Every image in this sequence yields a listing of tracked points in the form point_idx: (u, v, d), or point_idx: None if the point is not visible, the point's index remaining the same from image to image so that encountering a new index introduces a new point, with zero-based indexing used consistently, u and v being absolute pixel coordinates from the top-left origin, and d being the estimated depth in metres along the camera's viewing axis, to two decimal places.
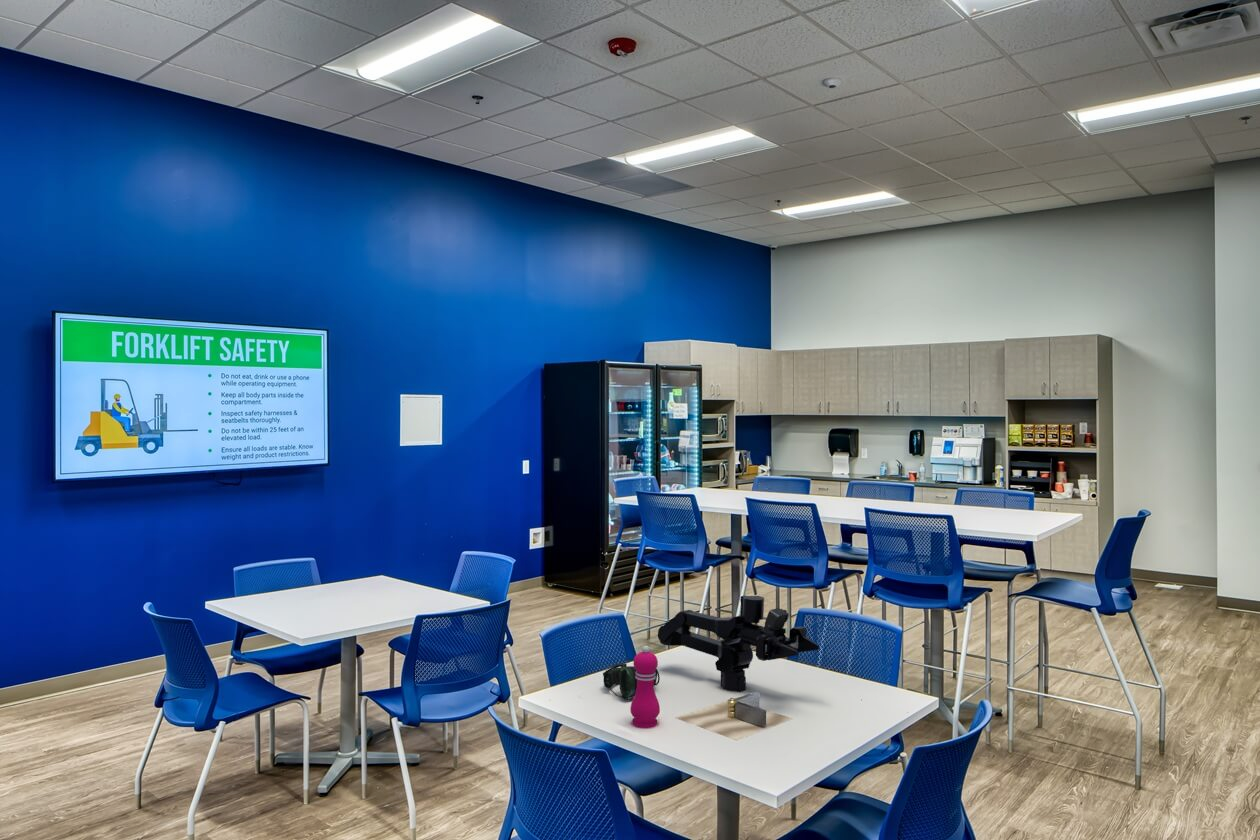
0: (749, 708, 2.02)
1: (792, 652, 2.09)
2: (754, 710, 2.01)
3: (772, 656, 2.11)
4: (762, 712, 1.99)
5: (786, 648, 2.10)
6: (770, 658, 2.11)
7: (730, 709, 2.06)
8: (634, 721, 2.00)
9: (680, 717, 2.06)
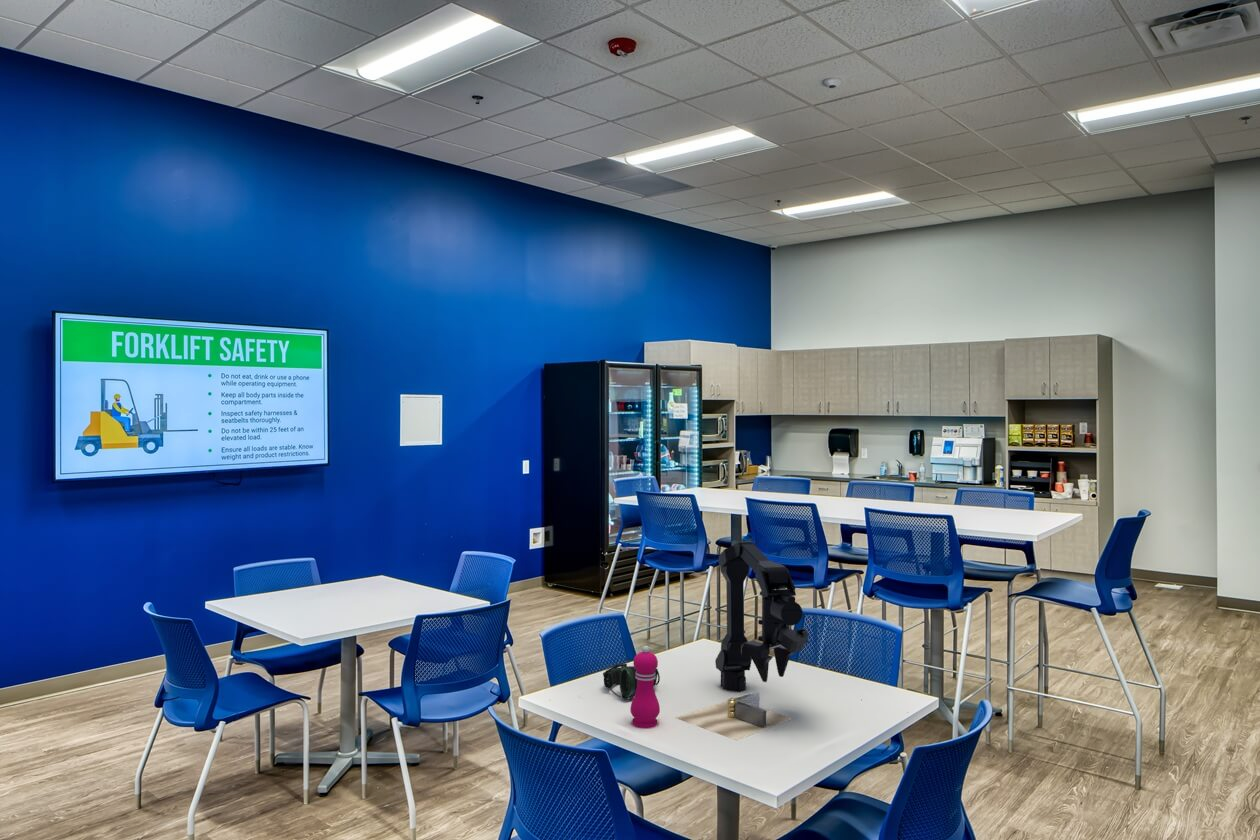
0: (749, 708, 2.02)
1: (763, 677, 2.02)
2: (754, 710, 2.01)
3: None
4: (762, 712, 1.99)
5: (765, 671, 2.02)
6: (750, 655, 2.03)
7: (730, 709, 2.06)
8: (634, 721, 2.00)
9: (680, 717, 2.06)
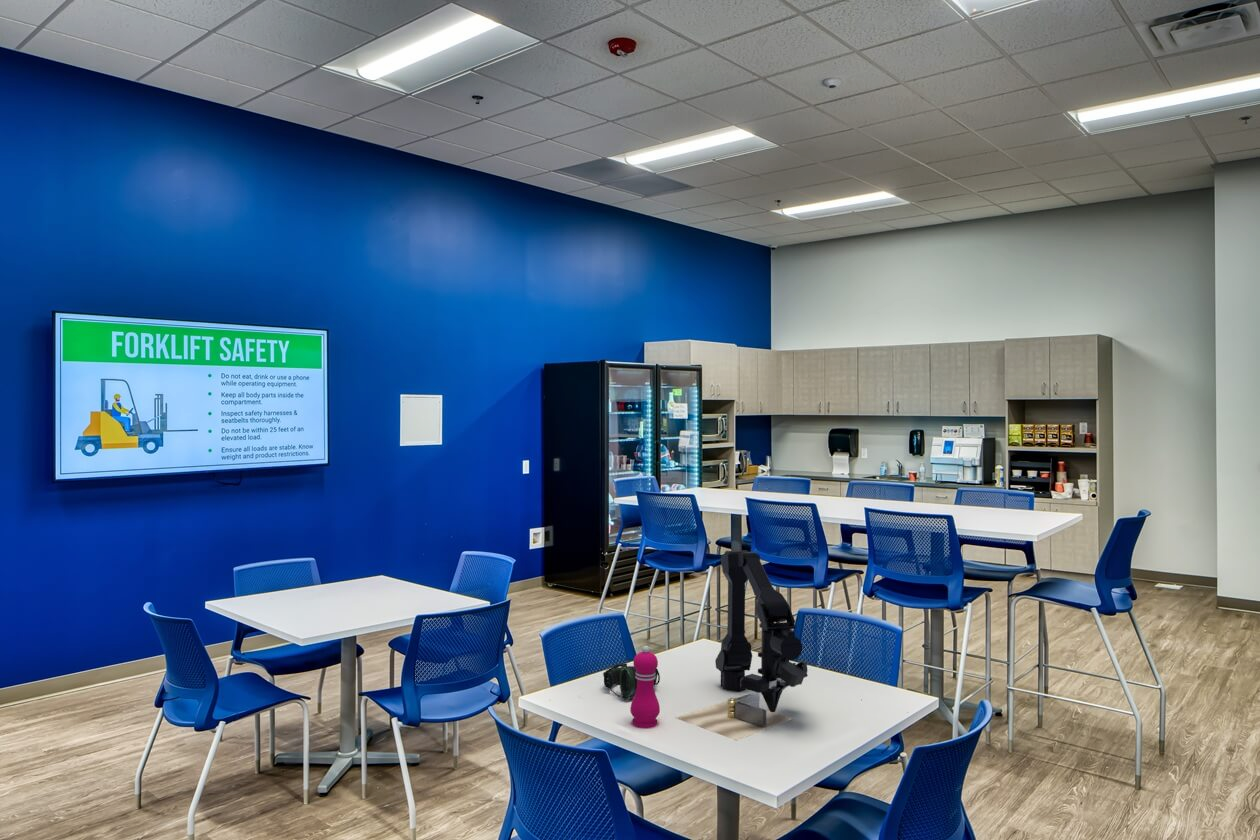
0: (749, 708, 2.02)
1: (771, 708, 2.04)
2: (754, 710, 2.01)
3: None
4: (762, 712, 1.99)
5: (772, 702, 2.04)
6: None
7: (730, 709, 2.06)
8: (634, 721, 2.00)
9: (680, 717, 2.06)
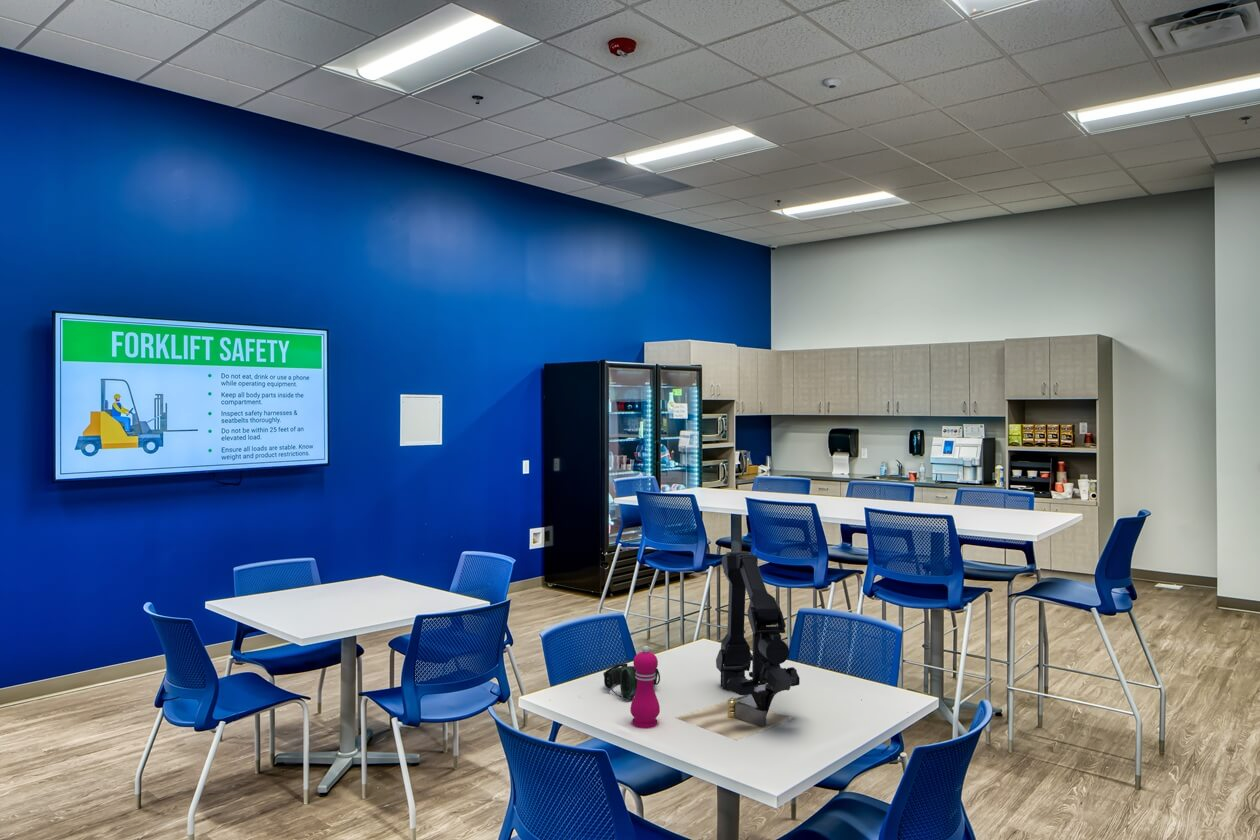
0: (749, 708, 2.02)
1: None
2: (754, 710, 2.01)
3: None
4: (762, 712, 1.99)
5: (762, 706, 2.01)
6: None
7: (730, 709, 2.06)
8: (634, 721, 2.00)
9: (680, 717, 2.06)
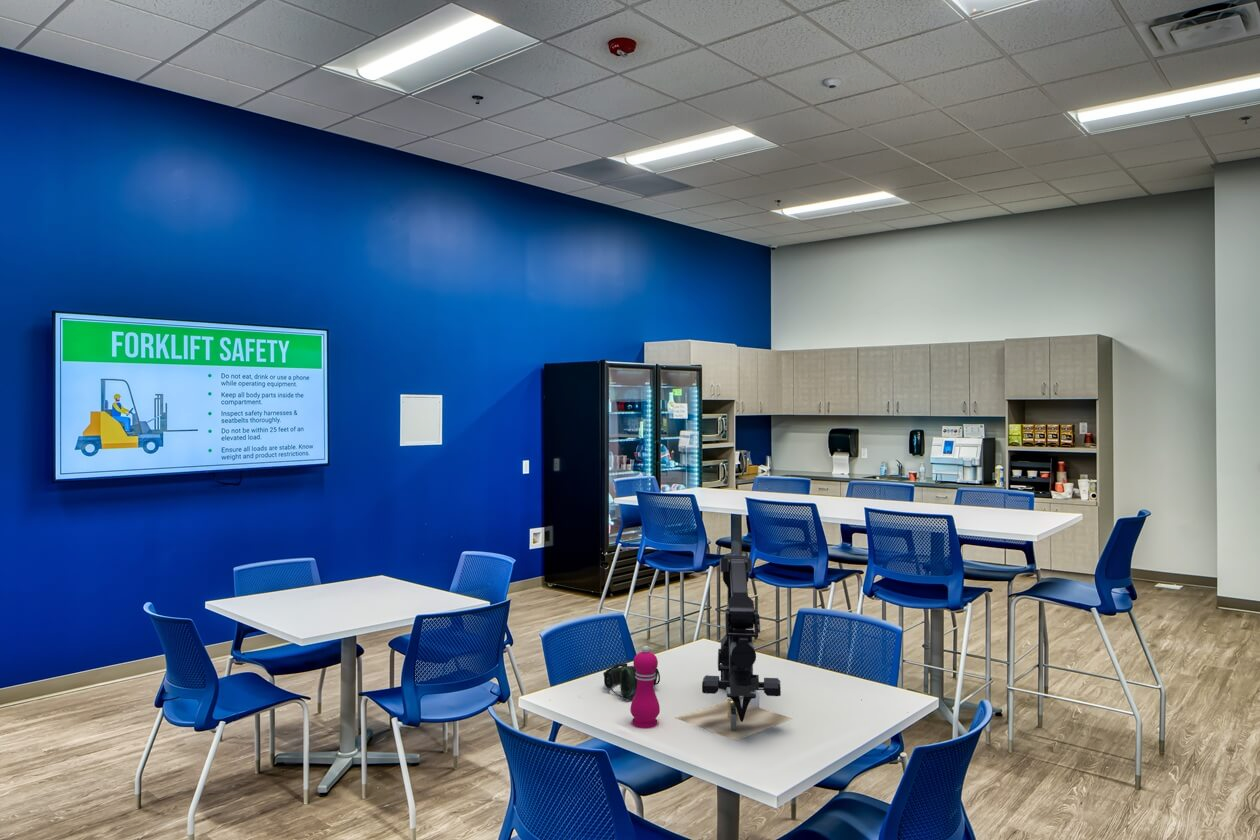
0: (730, 709, 2.01)
1: None
2: (730, 712, 1.99)
3: None
4: (731, 715, 1.97)
5: (737, 710, 1.98)
6: None
7: (728, 708, 2.06)
8: (634, 721, 2.00)
9: (680, 717, 2.06)
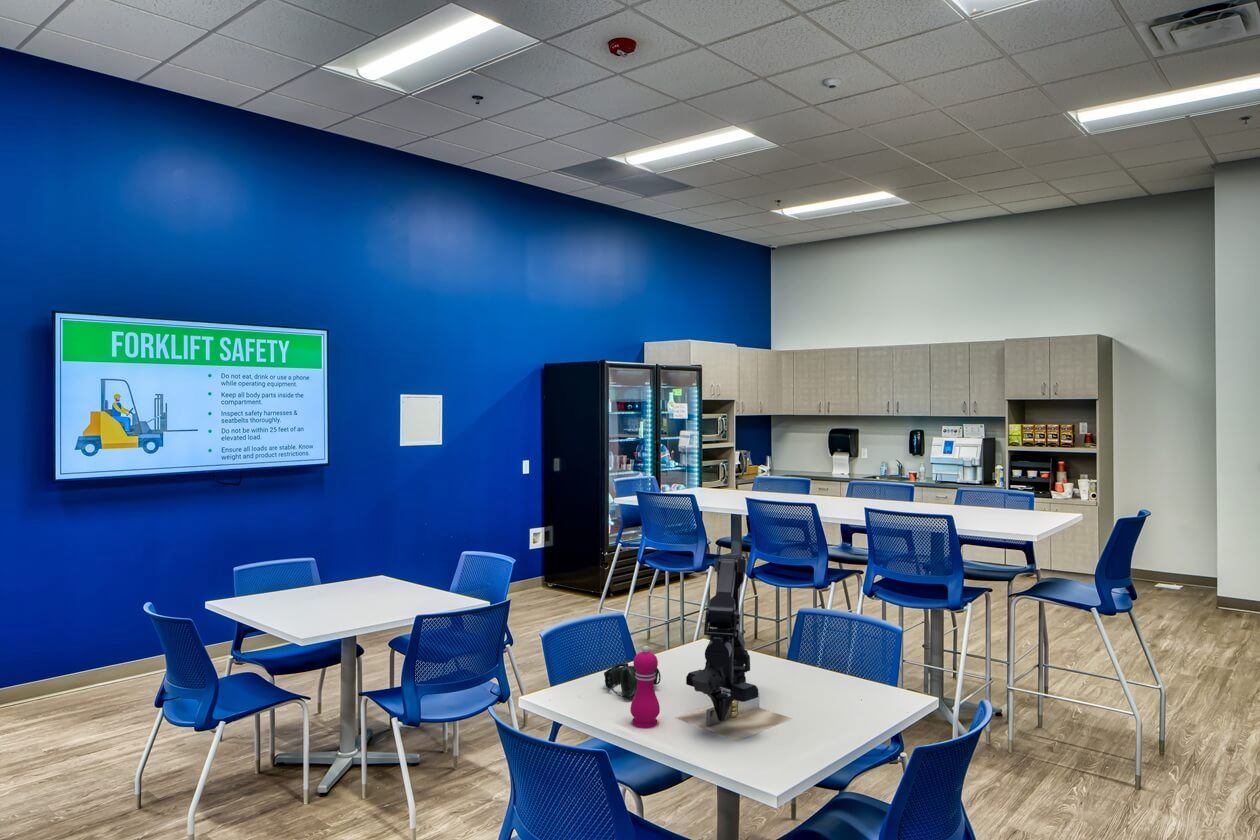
0: None
1: None
2: None
3: None
4: None
5: None
6: None
7: None
8: (634, 721, 2.00)
9: (680, 717, 2.06)
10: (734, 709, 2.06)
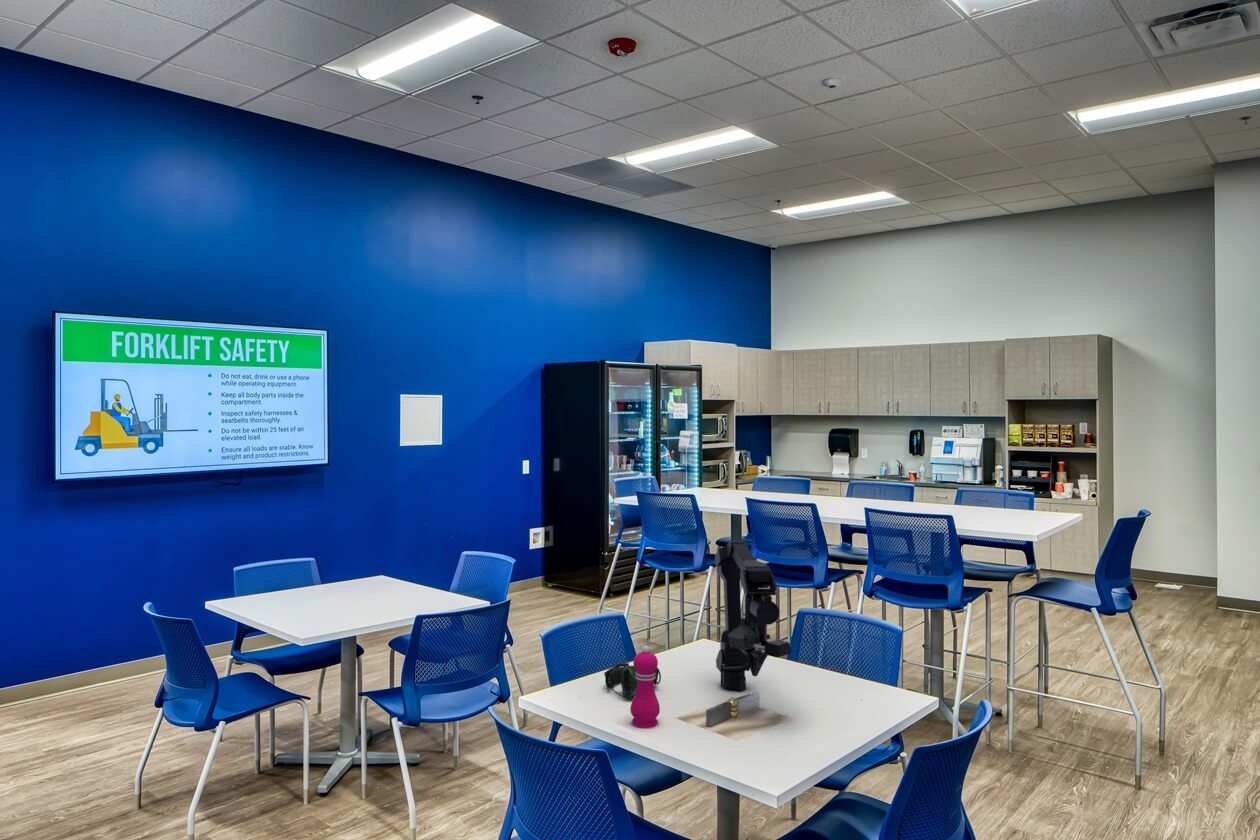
0: None
1: None
2: None
3: None
4: None
5: None
6: None
7: None
8: (634, 721, 2.00)
9: (680, 717, 2.06)
10: (734, 709, 2.06)
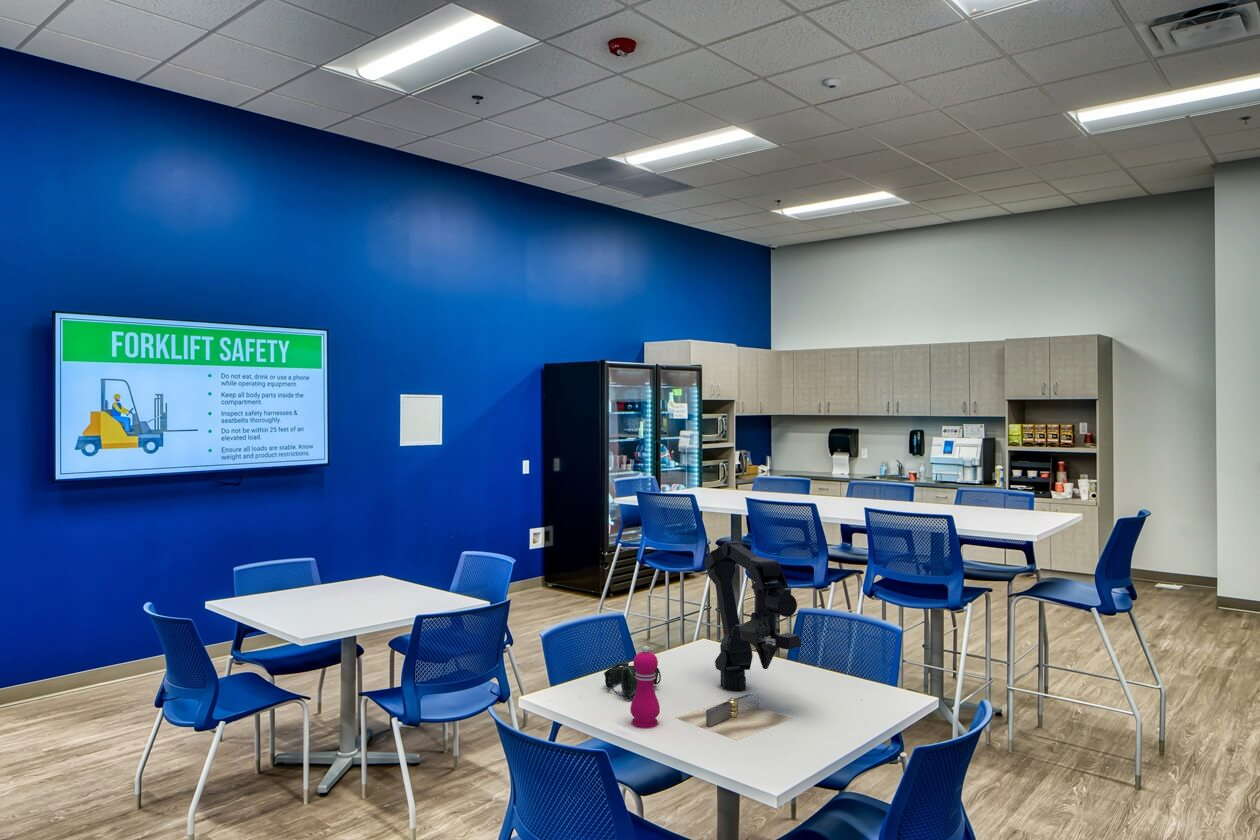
0: None
1: None
2: None
3: None
4: None
5: None
6: None
7: None
8: (634, 721, 2.00)
9: (680, 717, 2.06)
10: (734, 709, 2.06)
